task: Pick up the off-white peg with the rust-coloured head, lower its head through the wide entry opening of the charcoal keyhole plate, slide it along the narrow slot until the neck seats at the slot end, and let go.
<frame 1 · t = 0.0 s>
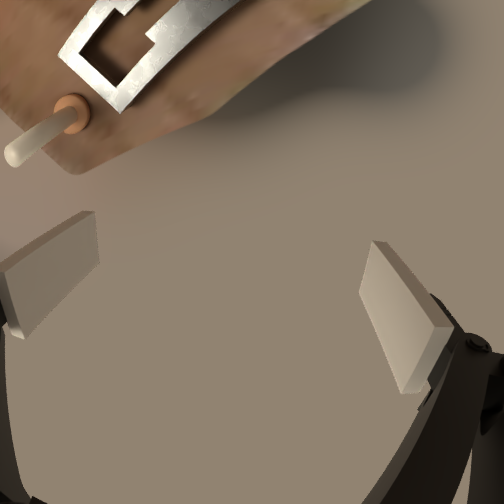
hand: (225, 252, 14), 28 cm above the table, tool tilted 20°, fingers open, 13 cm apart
peg: (73, 112, 36), on the table
keyhole plate: (157, 11, 27), on the table
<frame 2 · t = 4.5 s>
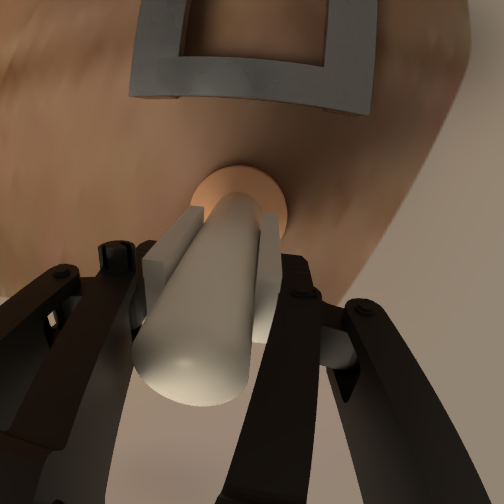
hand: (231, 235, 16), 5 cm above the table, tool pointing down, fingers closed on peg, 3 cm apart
peg: (239, 211, 20), on the table, touching gripper
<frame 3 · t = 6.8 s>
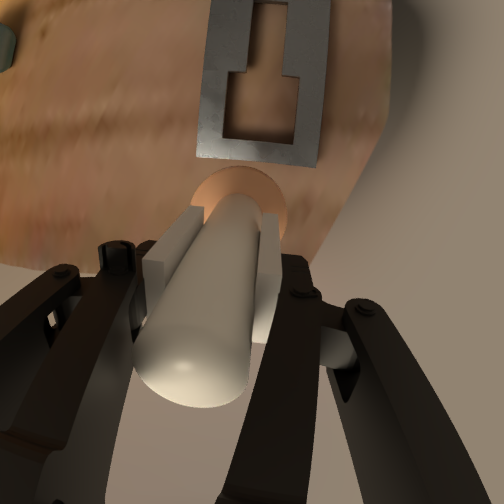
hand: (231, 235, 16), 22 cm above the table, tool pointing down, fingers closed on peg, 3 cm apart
peg: (239, 212, 20), point 17 cm above the table, touching gripper
keyhole plate: (266, 60, 31), on the table
flower pot: (6, 55, 30), on the table
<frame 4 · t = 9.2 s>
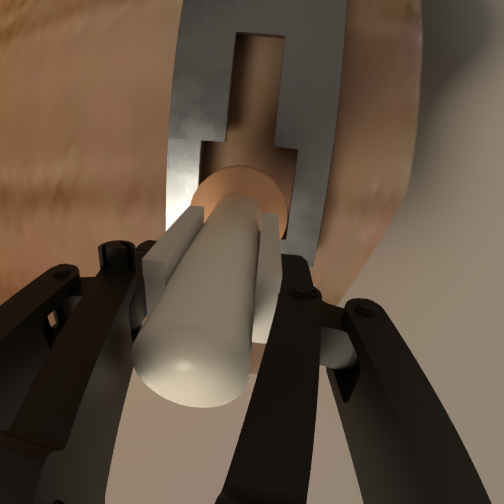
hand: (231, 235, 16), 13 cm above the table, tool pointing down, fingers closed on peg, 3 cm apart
peg: (239, 211, 20), point 8 cm above the table, touching gripper
keyhole plate: (253, 117, 25), on the table
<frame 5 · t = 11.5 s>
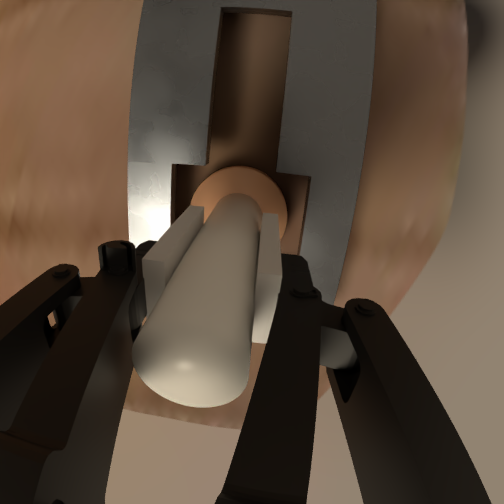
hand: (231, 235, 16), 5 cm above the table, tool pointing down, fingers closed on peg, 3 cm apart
peg: (239, 211, 20), on the table, touching gripper
keyhole plate: (248, 127, 18), on the table
when the fingers open (5 cm above the table, at t = 13.8 s): peg stays where it is, on the table.
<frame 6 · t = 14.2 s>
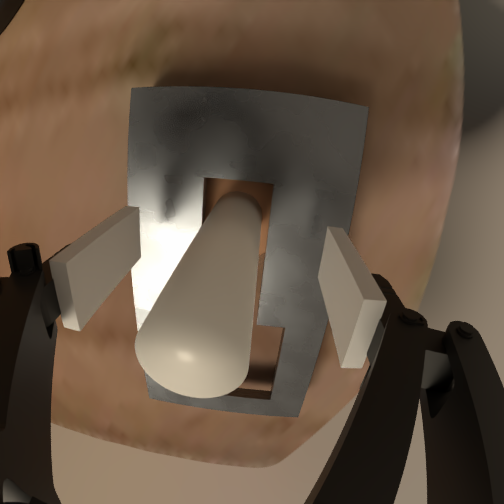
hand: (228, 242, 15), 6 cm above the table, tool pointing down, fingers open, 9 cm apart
peg: (239, 209, 20), on the table
keyhole plate: (234, 271, 22), on the table
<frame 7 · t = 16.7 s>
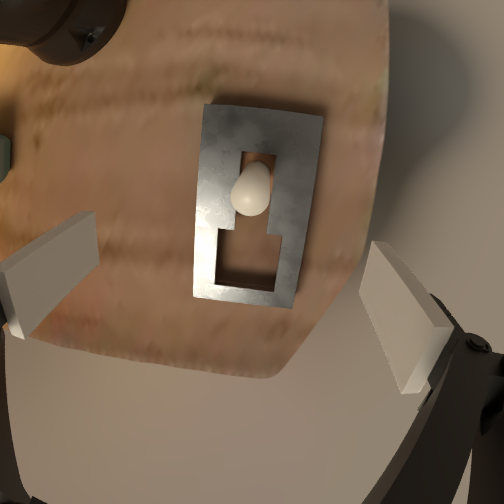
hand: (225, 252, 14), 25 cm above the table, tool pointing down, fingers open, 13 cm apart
peg: (257, 171, 37), on the table
keyhole plate: (253, 207, 38), on the table
flower pot: (3, 154, 37), on the table
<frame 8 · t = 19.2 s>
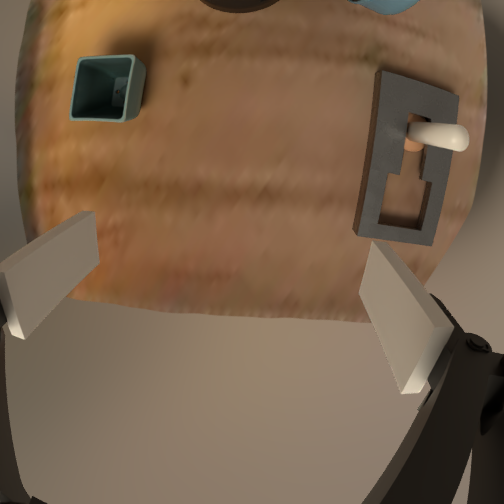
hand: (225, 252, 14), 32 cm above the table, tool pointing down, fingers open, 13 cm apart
peg: (409, 131, 39), on the table
keyhole plate: (405, 159, 41), on the table
flower pot: (129, 91, 40), on the table
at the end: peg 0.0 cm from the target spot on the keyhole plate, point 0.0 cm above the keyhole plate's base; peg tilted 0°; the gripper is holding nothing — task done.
